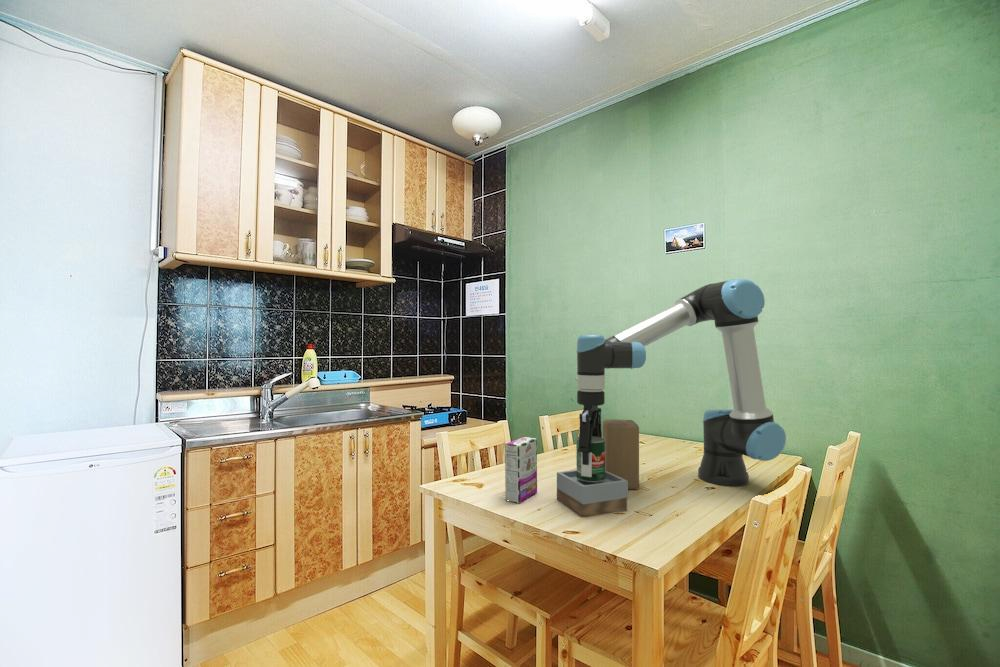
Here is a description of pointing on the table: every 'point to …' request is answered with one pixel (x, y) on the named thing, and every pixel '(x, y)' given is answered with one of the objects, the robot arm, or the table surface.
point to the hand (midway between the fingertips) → (590, 472)
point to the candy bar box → (521, 469)
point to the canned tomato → (593, 460)
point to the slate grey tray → (592, 487)
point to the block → (622, 450)
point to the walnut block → (592, 505)
